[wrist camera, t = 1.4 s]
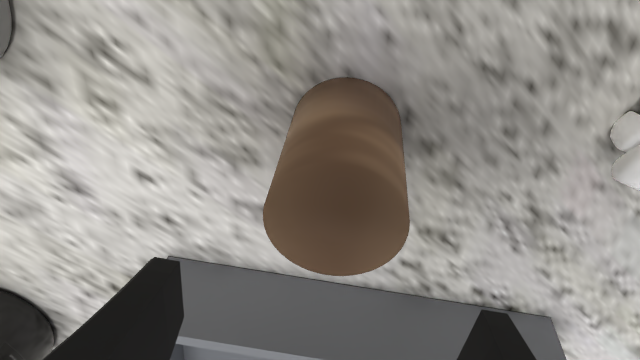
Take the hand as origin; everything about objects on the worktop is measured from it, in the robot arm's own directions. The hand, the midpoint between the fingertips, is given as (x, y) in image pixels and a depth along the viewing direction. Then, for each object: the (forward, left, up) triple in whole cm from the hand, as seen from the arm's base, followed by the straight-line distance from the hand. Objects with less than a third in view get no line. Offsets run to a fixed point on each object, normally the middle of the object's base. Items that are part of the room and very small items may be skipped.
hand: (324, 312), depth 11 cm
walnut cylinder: (0, 0, -9) cm, 9 cm away
